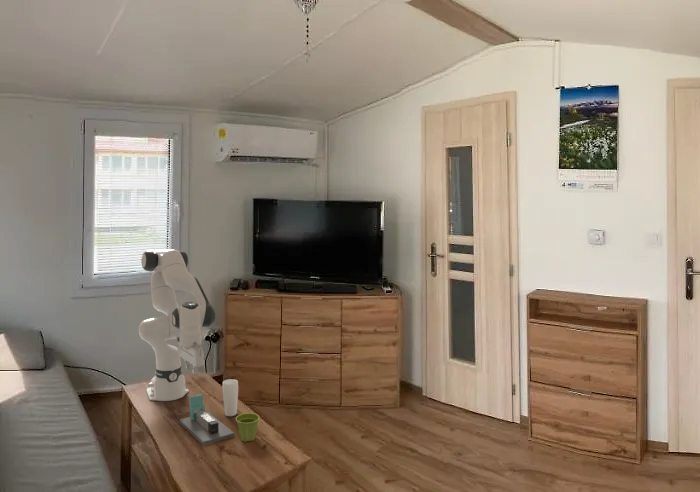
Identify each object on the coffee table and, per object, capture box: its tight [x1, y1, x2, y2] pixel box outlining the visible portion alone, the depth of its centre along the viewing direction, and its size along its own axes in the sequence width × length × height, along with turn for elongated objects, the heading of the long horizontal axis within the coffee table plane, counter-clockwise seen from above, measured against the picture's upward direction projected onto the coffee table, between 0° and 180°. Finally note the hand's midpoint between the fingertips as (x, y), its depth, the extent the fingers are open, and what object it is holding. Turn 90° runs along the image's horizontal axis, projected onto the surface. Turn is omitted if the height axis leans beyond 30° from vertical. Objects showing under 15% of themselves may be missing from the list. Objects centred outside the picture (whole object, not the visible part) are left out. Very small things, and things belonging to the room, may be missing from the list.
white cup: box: [222, 378, 239, 417], centre depth 240 cm, size 7×7×15 cm
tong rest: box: [178, 409, 235, 446], centre depth 225 cm, size 26×13×4 cm, turn 38°
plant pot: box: [235, 412, 260, 443], centre depth 217 cm, size 9×9×9 cm
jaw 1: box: [196, 410, 215, 434], centre depth 224 cm, size 16×2×4 cm, turn 38°
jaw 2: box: [200, 410, 219, 433], centre depth 224 cm, size 16×2×4 cm, turn 38°
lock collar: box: [188, 393, 206, 420], centre depth 232 cm, size 3×6×10 cm, turn 128°
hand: (191, 371), depth 235 cm, fingers open, 6 cm apart
